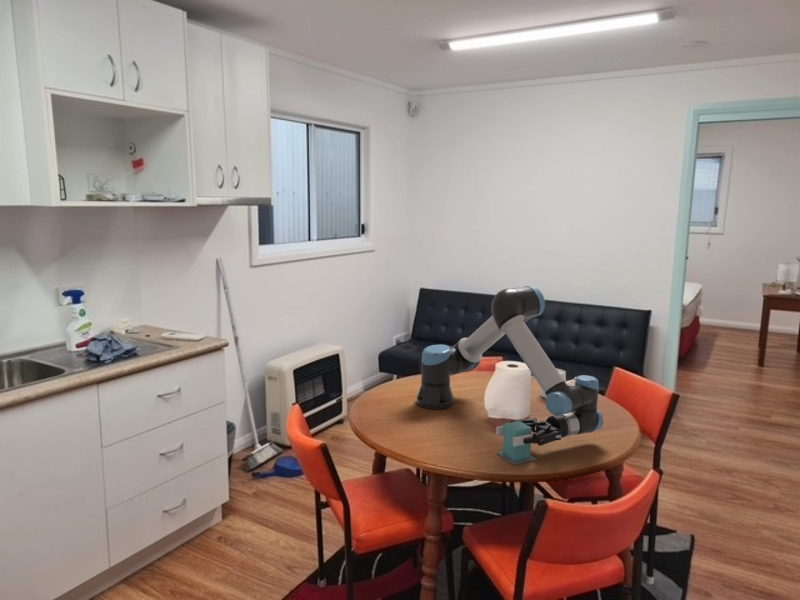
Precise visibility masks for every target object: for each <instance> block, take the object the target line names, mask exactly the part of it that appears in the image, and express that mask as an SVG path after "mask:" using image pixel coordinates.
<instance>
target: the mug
mask: <svg viewBox="0 0 800 600" xmlns="http://www.w3.org/2000/svg"><path fill="white" fill-rule="evenodd" d="M556 369H557V371H558V372H559V374H560V375H561V377H562V378H563V380H564V381H565V382H566V381H567V371H566V370H563V369H560V368H556ZM539 395H540V396H541V397H543V398H545V399H546V397H547V396H546V394H545V392H544V391H543V389H542V388H541V387H540V391H539Z"/></svg>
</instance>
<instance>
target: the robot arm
mask: <svg viewBox="0 0 800 600" xmlns="http://www.w3.org/2000/svg"><path fill="white" fill-rule="evenodd" d="M545 303H546V300H545V297H544V294H543V293H542V291H541V289H539V288H537V287H536V286H531V285H524V286H519V287H513V288H511V287H510V288H504V289H502V290H500V291H498V292H497V293H496V294H495V295H494V297H493V299H492V301H491V304H490V305H491V308H490V309H491V316H490V317H489V318H488V319H487V320H486V321H484V322H483V323H482V324H481V325H480V326H479V327H478V328H477V329H475V330H474V332H473V333H472V334H470V335H469V336H468V337H462V338H461V339H459V340H457V342H456V343H455V344H454V345H452V346H450V345H447V344H441V343H440V344H432V345H428V346H427V347H425V348H424V349H423V350H422V353H421V354H422V355H421V382H420V383H421V384H420V387H419V390H418V392H417V396H416V404H417V405H418V406H419V407H421V408H424V409H429V410H446V409H449V408H451V407H453V406H454V403H455V398H454V394H453V392H452V388H451V376H455V375H459V374H462V373H463V374H464V373H469V372H471V371H473V370H475V369H477V368H479V365H480V363H481V359H482V358H483V354H484V353H485V352H486V351H487V350H488V349H490V348H491V347H492V346H493V345H494V344H495V343H496V342H498V341H499V340H500V339H501V338H502V337H504V336H505V335H506V337H507V338H508V339H509V341H510V342H511V345H513V347H514V349H515V350H516V352H517V353H518V354H519V356H520V358H521V359H522V360H523V362H524V364H525V365H526V367H527V368H528V370H529V372H530V373H531V374H532V376H533V377H534V379H535V381H536V382H537V383H538V384H539V386H540V388H542V389H543V391H544V392H545V394H546V396H547V397H546V398H545V399H544V402H545V407H546V410H547V411H548V412H549V413H550V414H552V415H550V416H548V417H547V418H546V420H541V421H539V420H538V419H537V417H533V418H528V419H527V418H526V419H524V418H523V419H515V420H513V419H512V420H510V422H509V423H511V422H517V421H521V422H522V423H524V424H526V425H528V426H529V427H531V428H532V433H531V434H528V435H523V436H518V437H513V446H519V445H524V444H529V443H531V444H534V445H536V444H537V446H539V447H540V446H543V445H547V444H549V443H553V442H554V441H561V440H562V439H563V438H569V437H571V436H576V435H577V436H578V435H581V434H591V433H593V432H596V431H599V430H601V429H602V428H603V425H604V420H605V419H604V418H603V414H602V412H601V411H600V410H599V409H598V400H599V399H598V398H599V391H600V389H599V380H598V379H597V378H596V377H595V376H592V375H578V376H576V377H577V378H576V380H575V385H574V386H571V387H568V385H567V384H566V383H565V381H564V380H563V378H562V377H561V375H560V374H559V372H558V371H557V369H558V368H556V367H555V365H554V363H553V362H552V361H551V359H550V358H549V356H548V355H547V353H546V352H545V350H544V349H543V347H542V346H541V344H540V343H539V341H538V340H537V338H536V337H535V335H534V334H533V333H532V332H531V330H530V328H529V327H528V325H527V324H526V322H528V321H529V320H530V319H532V318H537V317H538V316H541V315H542V314H543V313H544V310H545V307H546V305H545ZM502 435H503V436H504V425H500V426H499V425H498V426H496V436H502Z"/></svg>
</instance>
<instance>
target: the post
mask: <svg viewBox="0 0 800 600" xmlns="http://www.w3.org/2000/svg"><path fill="white" fill-rule="evenodd" d="M496 454H497V456H499V457H501V459H504V460H505V461H506V462H508V463H509V464H511V465H512V466H515V465H520V464H525V463H530V462H535V461H537V457H535V456H533V455H532V454H530V458H525V459H520V460H515V461H514V460H512V459H511V458H509V457H508V456H506V455H505V454H504V453H503V450H500V451H496Z"/></svg>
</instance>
